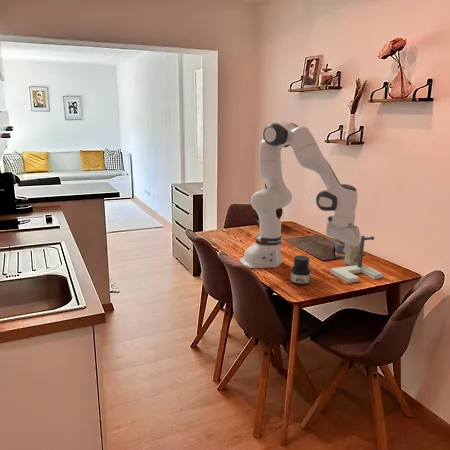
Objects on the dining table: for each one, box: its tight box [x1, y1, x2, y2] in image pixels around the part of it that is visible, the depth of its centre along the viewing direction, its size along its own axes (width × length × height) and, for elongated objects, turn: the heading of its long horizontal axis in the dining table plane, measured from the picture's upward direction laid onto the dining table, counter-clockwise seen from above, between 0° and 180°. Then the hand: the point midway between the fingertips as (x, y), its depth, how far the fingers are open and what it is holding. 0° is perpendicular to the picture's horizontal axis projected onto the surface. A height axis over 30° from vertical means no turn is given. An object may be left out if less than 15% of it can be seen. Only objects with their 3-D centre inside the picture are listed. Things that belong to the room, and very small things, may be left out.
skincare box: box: [343, 244, 360, 266], centre depth 217 cm, size 6×4×12 cm
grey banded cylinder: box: [334, 240, 346, 259], centre depth 189 cm, size 5×5×8 cm
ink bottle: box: [290, 254, 312, 286], centre depth 191 cm, size 10×9×12 cm
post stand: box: [329, 235, 383, 283], centre depth 201 cm, size 22×14×18 cm, turn 111°
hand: (340, 250), depth 190 cm, fingers closed on grey banded cylinder, 4 cm apart
